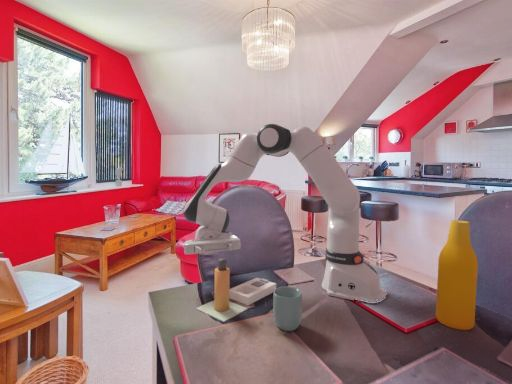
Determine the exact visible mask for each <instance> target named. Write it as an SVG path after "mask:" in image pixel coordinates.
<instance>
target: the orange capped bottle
mask: <svg viewBox="0 0 512 384" xmlns="http://www.w3.org/2000/svg"><path fill="white" fill-rule="evenodd" d="M227 264H228V259H227V258H226V257H225V258H224V257H223V258H222V257H221V258H217V267H216V268H214V309H215V310H216V311H219V312H224V311H227V310H229V301H230V298H229V292H230V289H231V287H230V285H231V284H230V278H231V277H230V276H231V275H230V273H231V271H230V269H231V268H230V267H227V266H228V265H227Z"/></svg>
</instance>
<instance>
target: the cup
mask: <svg viewBox="0 0 512 384" xmlns="http://www.w3.org/2000/svg"><path fill="white" fill-rule="evenodd" d="M272 302H273V303H272V307H273V308H272V311H273V313H272V314H273V321H274V323H275V326H276V327H277V328H278V329H280V330H281V331H283V330H284V332H293V331H295V330H296V329H298V328H299V326H300V324H301V321H302V320H301V319H302V314H303V292H302V290H301V289H300V288H297V287H295V286H286V285H285V286H279V287H276V289H275V290H274V292H273V296H272Z"/></svg>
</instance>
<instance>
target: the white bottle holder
mask: <svg viewBox="0 0 512 384" xmlns="http://www.w3.org/2000/svg"><path fill="white" fill-rule="evenodd" d="M276 288H277V283H276V282H274V281H273V282H272V281H269V279H266V278H263V277H262V278H260V277H255V278H253V279H250V280H247V281H245V282H243V283H241V284H238V285H236V286H233V287H230V292H229V300H233V301H235V302H238V303H241V304H243V305H245V306H250V305H252V304H253V303H255V302H257V301H259V300H261V299H263V298H265V297H267V296H269V295H271V294H272V293H274V290H275V289H276Z"/></svg>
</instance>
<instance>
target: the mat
mask: <svg viewBox="0 0 512 384" xmlns="http://www.w3.org/2000/svg"><path fill="white" fill-rule="evenodd" d="M195 309H196V310H197V311H199V312H201V313H203V314H206V315H207V316H210V317H211V318H214V319H216V320H218V321H221V322H223V323H225V322H227V321H229V320H230V319H233V318H234V317H236V316H238V315H239V314H240V315H241V314H242V313H243V312H245V311H247V310H248V307H245V306H242V305H240V304H237V303H234V302H232V301H230V300H229V310H227V311H224V312H219V311H216V310H215V309H214V300H211V301H209V302H207V303H204V304H203V305H201V306H198V307H196V308H195Z"/></svg>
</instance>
